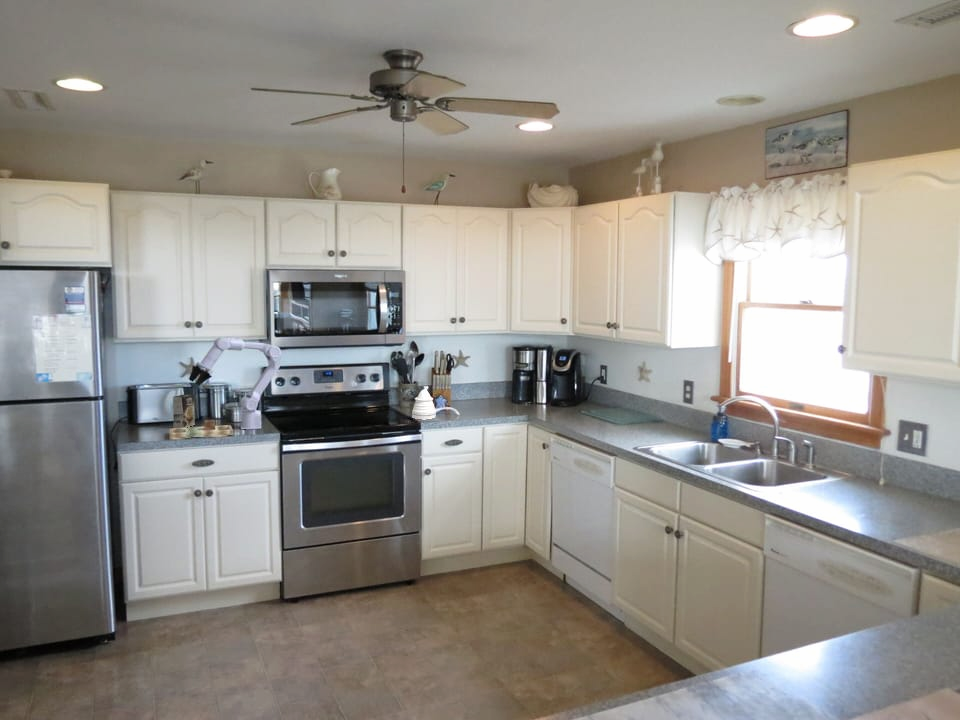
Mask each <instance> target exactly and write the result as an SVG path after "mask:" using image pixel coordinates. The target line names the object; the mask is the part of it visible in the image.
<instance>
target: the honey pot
mask: <svg viewBox="0 0 960 720" xmlns="http://www.w3.org/2000/svg"><path fill="white" fill-rule="evenodd" d="M428 389H429V386H426V385H425V386H423V389H422V390H421V391H419V393H418V395H417V397H414V400H415V401H414V404H413V409H412V410H411V419H412V418H415V419H422V420H426V419H432V418H435V417H436V416H437V410H436V408H435V404H434V402H433V400H434V398H433V397H432V396H431V394H430V393H429V391H428Z"/></svg>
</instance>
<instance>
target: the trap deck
mask: <svg viewBox="0 0 960 720" xmlns="http://www.w3.org/2000/svg"><path fill="white" fill-rule="evenodd" d="M168 433H169V441H170V440H172V441H173V440H185V439H184V438H190V439H192V438H191V437H206V438H221V437H229V436H228V435H233V436H234V430H233V428H232V425H231V424H225V425H224V424H223V425H215V430H205V426H192V427H188V428H174V427H173V428H169V431H168Z"/></svg>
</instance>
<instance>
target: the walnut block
mask: <svg viewBox="0 0 960 720" xmlns="http://www.w3.org/2000/svg"><path fill="white" fill-rule="evenodd" d="M215 426H216V420H215V419H207V420H206V419H205V420H204V427H205V430H215Z"/></svg>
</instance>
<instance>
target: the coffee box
mask: <svg viewBox="0 0 960 720" xmlns="http://www.w3.org/2000/svg"><path fill="white" fill-rule="evenodd" d="M172 404H173V405H172V410H173V413H172V416H173V428H187V427H190V426H192V427H194V426H193V425H195V426H196V423H195V421H196V420H195V394H179V395H175V396H172Z"/></svg>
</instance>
